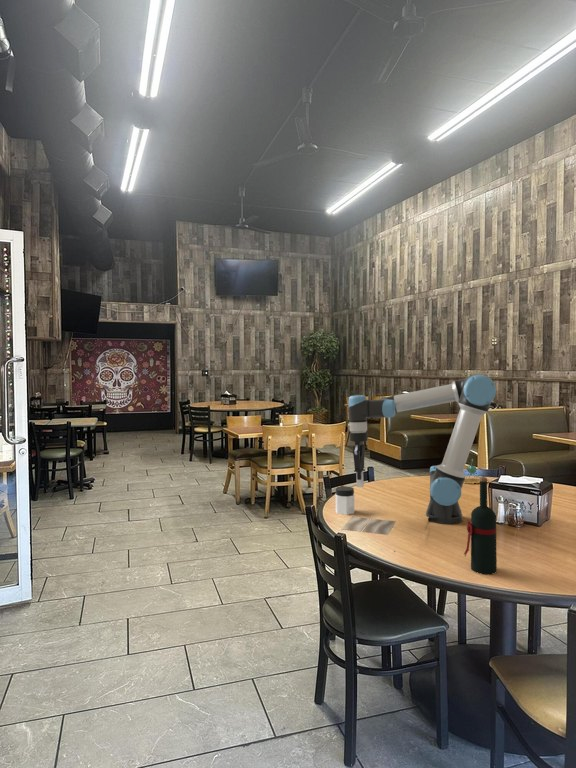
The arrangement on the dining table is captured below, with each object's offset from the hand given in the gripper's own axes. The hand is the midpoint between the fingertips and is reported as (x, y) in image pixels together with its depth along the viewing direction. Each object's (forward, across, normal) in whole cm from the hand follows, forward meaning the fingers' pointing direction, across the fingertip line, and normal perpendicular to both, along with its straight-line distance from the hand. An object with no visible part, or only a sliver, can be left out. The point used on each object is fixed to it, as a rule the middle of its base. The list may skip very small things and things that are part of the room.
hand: (360, 486), depth 208 cm
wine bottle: (+17, +36, +47) cm, 61 cm away
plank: (+15, +7, -1) cm, 17 cm away
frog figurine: (+17, -92, +45) cm, 104 cm away
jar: (+15, -8, -9) cm, 20 cm away
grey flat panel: (+15, +7, +3) cm, 17 cm away
